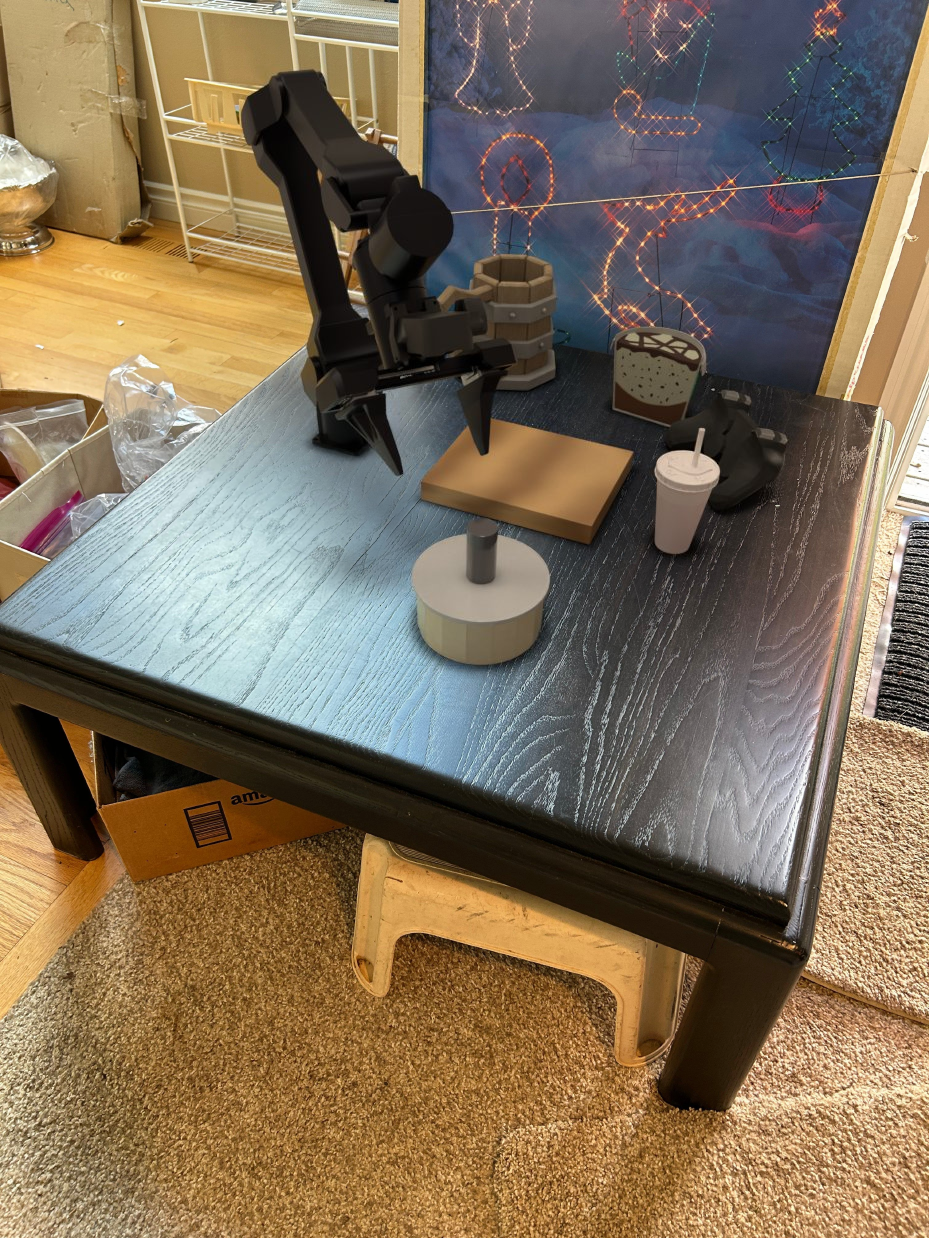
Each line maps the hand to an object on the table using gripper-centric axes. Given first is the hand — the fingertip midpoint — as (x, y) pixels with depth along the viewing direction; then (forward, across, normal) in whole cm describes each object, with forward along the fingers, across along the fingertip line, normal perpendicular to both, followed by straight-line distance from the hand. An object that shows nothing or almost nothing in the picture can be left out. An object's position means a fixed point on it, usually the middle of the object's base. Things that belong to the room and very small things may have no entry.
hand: (443, 464), depth 84 cm
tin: (+15, 0, +2) cm, 15 cm away
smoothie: (+14, +24, +1) cm, 28 cm away
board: (+3, +17, +14) cm, 23 cm away
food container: (-2, +41, +17) cm, 45 cm away
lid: (+11, 0, -2) cm, 11 cm away
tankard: (-13, +27, +32) cm, 44 cm away
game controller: (+8, +38, +6) cm, 40 cm away
